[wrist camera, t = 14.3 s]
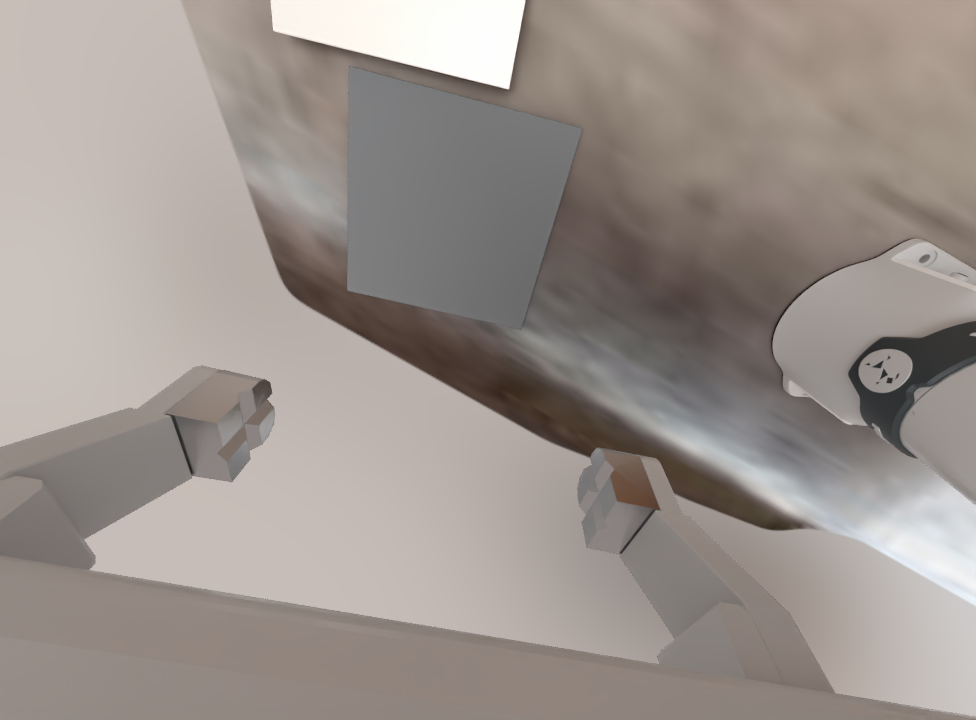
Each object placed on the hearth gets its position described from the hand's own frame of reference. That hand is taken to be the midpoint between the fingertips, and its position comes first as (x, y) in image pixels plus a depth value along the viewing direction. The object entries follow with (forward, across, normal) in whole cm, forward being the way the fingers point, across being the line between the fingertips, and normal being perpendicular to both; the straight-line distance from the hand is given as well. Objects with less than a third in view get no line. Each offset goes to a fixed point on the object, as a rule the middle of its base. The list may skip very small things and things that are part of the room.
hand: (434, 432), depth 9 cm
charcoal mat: (+31, +4, +2) cm, 31 cm away
